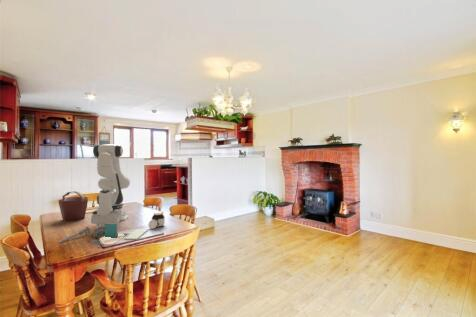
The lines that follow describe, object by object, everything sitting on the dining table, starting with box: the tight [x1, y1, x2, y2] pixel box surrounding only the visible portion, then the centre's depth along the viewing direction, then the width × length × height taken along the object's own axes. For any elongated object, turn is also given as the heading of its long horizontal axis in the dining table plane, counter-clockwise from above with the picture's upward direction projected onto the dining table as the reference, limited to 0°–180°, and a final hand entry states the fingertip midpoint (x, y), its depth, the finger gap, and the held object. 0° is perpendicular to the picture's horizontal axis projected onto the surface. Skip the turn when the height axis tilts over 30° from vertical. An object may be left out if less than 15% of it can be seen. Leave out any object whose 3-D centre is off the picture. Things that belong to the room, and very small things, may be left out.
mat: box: [89, 232, 129, 246], centre depth 166 cm, size 22×16×1 cm
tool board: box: [123, 228, 149, 241], centre depth 174 cm, size 20×9×1 cm, turn 0°
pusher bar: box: [92, 224, 105, 238], centre depth 177 cm, size 16×3×5 cm, turn 179°
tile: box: [104, 223, 119, 238], centre depth 168 cm, size 2×8×10 cm, turn 90°
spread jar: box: [148, 211, 166, 230], centre depth 194 cm, size 12×11×12 cm
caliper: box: [58, 226, 91, 244], centre depth 168 cm, size 20×1×6 cm, turn 153°
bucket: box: [58, 191, 89, 222], centre depth 218 cm, size 24×22×25 cm
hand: (105, 229), depth 181 cm, fingers open, 8 cm apart
